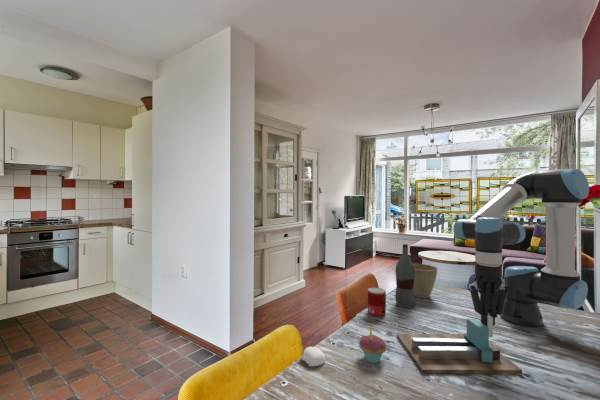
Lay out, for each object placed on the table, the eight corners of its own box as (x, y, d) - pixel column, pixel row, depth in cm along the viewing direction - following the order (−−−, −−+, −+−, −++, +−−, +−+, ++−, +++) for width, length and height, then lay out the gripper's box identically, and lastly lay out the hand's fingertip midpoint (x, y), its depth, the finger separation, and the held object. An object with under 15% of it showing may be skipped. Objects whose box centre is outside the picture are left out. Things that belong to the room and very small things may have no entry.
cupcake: (381, 369, 89) (381, 330, 89) (355, 360, 93) (355, 324, 93) (388, 356, 96) (388, 320, 96) (364, 349, 101) (364, 315, 101)
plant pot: (410, 300, 149) (410, 269, 149) (405, 291, 164) (405, 263, 164) (441, 301, 147) (441, 270, 147) (432, 292, 162) (432, 264, 162)
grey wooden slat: (470, 347, 99) (470, 338, 99) (474, 351, 97) (474, 342, 97) (411, 346, 100) (411, 337, 100) (414, 349, 98) (414, 340, 98)
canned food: (386, 318, 127) (386, 293, 127) (367, 316, 129) (367, 292, 129) (384, 311, 135) (385, 287, 135) (367, 310, 136) (367, 286, 136)
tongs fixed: (485, 348, 99) (485, 338, 99) (499, 360, 92) (500, 350, 92) (412, 347, 99) (412, 338, 99) (421, 359, 92) (421, 349, 92)
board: (475, 337, 110) (475, 334, 110) (522, 374, 87) (522, 370, 87) (396, 336, 110) (396, 333, 110) (422, 373, 87) (422, 369, 87)
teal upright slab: (472, 344, 101) (472, 316, 101) (492, 362, 90) (492, 330, 90) (463, 344, 101) (463, 316, 101) (482, 362, 90) (483, 330, 90)
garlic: (298, 357, 96) (298, 346, 96) (316, 352, 99) (316, 341, 99) (310, 370, 89) (310, 358, 89) (328, 364, 92) (328, 353, 92)
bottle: (392, 301, 147) (393, 243, 147) (410, 301, 147) (411, 243, 147) (398, 308, 138) (398, 246, 138) (417, 308, 138) (418, 246, 138)
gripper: (500, 261, 99) (499, 329, 99) (462, 261, 99) (461, 329, 99) (516, 266, 92) (515, 340, 92) (475, 266, 92) (475, 340, 92)
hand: (487, 334), depth 95 cm, fingers closed
